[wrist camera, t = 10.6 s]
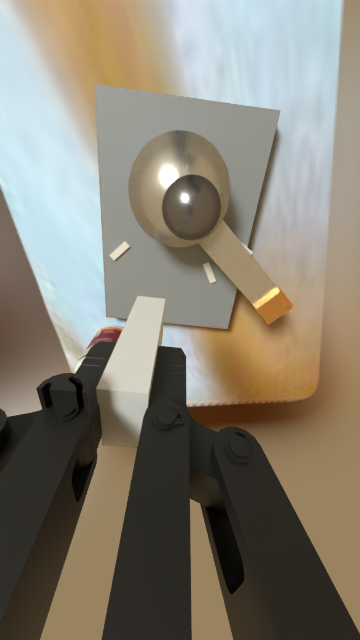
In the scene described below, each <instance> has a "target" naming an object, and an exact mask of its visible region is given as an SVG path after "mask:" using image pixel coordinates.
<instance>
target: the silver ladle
mask: <svg viewBox="0 0 360 640" xmlns="http://www.w3.org/2000/svg"><path fill="white" fill-rule="evenodd" d="M128 191H129V201H130V205H131V209H132V212H133V214H134V216H135V218H136V220H137V222H138V224H139V225H140V227H141V228H142V229H143V230H144V231H145V233H147V234H148V235H149V236H150V237H151V238H153V239H154V240H155V241H157V242H159V243H161V244H164V245H166V246H171V247H188V246H192V245H195V244H199V245H200V246H201V247H202V248H203V249H204V250H205V251H206V253H207V254H208V255H209V256H210V257H211V258H212V259H213V261H214V262H215V263H216V264H217V265H218V266H219V267H220V268H221V270H222V271H223V272H224V273H225V274H226V275H227V276H228V277H229V279H230V280H231V281H232V282H233V283H234V284H235V285H236V287H237V288H238V289H239V290H240V291H241V292H242V293H243V294H244V296H245V297H246V298H247V299H248V300H249V301H250V302H251V304H252V305H253V306H254V309H255V310H256V312H257V313H258V314H259V315H260V316H261V317H262V318H263V319H264V321H265V322H266V323H267V324H268V325H269V324H270V323H272V322H273V321H275V320H276V319H278V318H279V317H280V316H282V315H283V314H285V313H286V312H287V311H289V310H290V309H292V308H293V307H294V306H293V304H292V303H291V302H290V301H289V299H288V298H287V297H286V295H285V294H284V293H283V292H282V290H280V289H279V288H277V287H276V286H275V285H274V283H273V282H272V281H271V280H270V278H269V277H268V276H267V274H266V273H265V272H264V271H263V269H262V268H261V267H260V266H259V264H258V263H257V262H256V261H255V259H254V258H253V257H252V256H251V254H250V253H249V252H248V251H247V249H246V248H245V247H244V246H243V244H242V243H241V242H240V241H239V239H238V238H237V237H236V236H235V234H234V233H233V232H232V231H231V229H230V228H229V227H228V226H227V224H226V223H225V222H224V221H223V218H224V216H225V214H226V211H227V208H228V204H229V199H230V179H229V173H228V170H227V167H226V164H225V162H224V160H223V158H222V156H221V154H220V153H219V151H218V150H217V149H216V148H215V146H214V145H213V144H212V143H210V142H209V141H208V140H207V139H205V138H204V137H202V136H200V135H198V134H196V133H193V132H190V131H183V130H175V131H169V132H165V133H163V134H160V135H158V136H157V137H155V138H153V139H152V140H151V141H149V142H148V143H147V144H146V145H145V146H144V147H143V148H142V149H141V151H140V152H139V154H138V155H137V157H136V159H135V161H134V163H133V166H132V169H131V172H130V177H129V185H128Z"/></svg>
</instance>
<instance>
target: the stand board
mask: <svg viewBox="0 0 360 640" xmlns="http://www.w3.org/2000/svg"><path fill="white" fill-rule="evenodd" d="M95 104H96V123H97V143H98V163H99V183H100V203H101V222H102V242H103V262H104V282H105V302H106V317H111V318H121V319H128V317H129V314H130V312H131V310H132V308H133V305H134V303H135V301H136V299H137V296H145V297H154V298H163V299H165V311H164V323H171V324H181V325H191V326H201V327H211V328H221V329H228V325H229V321H230V317H231V313H232V309H233V304H234V300H235V296H236V292H237V287H236V285H235V284H234V283H233V282H232V281H231V280H230V279H229V277H228V276H227V275H226V274H225V273H224V272H223V271H222V270H221V268H220V267H219V266H218V265H217V264H216V263H215V262H214V261H213V259H212V258H211V257H210V256H209V255H208V254H207V253H206V251H205V250H204V249H203V248H202V247H201V246H200V245H199V244H195V245H192V246H188V247H171V246H166V245H164V244H161V243H159V242H157V241H155V240H154V239H153V238H151V237H150V236H149V235H148V234H147V233H145V231H144V230H143V229H142V228H141V227H140V225H139V224H138V222H137V220H136V218H135V216H134V214H133V212H132V209H131V205H130V201H129V191H128V185H129V177H130V172H131V169H132V166H133V163H134V161H135V159H136V157H137V155H138V154H139V152H140V151H141V149H142V148H143V147H144V146H145V145H146V144H147V143H148V142H149V141H151V140H152V139H153V138H155V137H157V136H158V135H160V134H163V133H165V132H169V131H175V130H183V131H190V132H193V133H196V134H198V135H200V136H202V137H204V138H205V139H207V140H208V141H209V142H210V143H212V144H213V145H214V146H215V148H216V149H217V150H218V151H219V153H220V154H221V156H222V158H223V160H224V162H225V164H226V167H227V170H228V173H229V179H230V199H229V204H228V208H227V211H226V214H225V216H224V218H223V221H224V222H225V223H226V224H227V226H228V227H229V228H230V229H231V231H232V232H233V233H234V234H235V236H236V237H237V238H238V239H239V241H240V242H241V243H242V244H243V246H244V247H245V248H246V249H247V251H248V252H249V253H250V254H252V253H253V252H252V251H251V250H250V249H249V248H247V247H248V242H249V238H250V234H251V230H252V226H253V222H254V218H255V214H256V209H257V205H258V201H259V197H260V193H261V189H262V185H263V181H264V176H265V172H266V168H267V164H268V160H269V156H270V152H271V148H272V143H273V139H274V135H275V131H276V127H277V123H278V119H279V114H280V111H279V110H272V109H265V108H258V107H251V106H244V105H237V104H230V103H223V102H216V101H209V100H202V99H195V98H188V97H182V96H175V95H168V94H161V93H154V92H147V91H140V90H133V89H126V88H119V87H112V86H105V85H98V84H95Z"/></svg>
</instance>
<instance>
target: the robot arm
mask: <svg viewBox="0 0 360 640" xmlns="http://www.w3.org/2000/svg"><path fill="white" fill-rule="evenodd" d="M164 311H165V299H163V298H154V297H145V296H137V299H136V301H135V303H134V305H133V308H132V310H131V312H130V314H129V317H128V319H127V321H126V323H125V325H124V328H123V330H122V332H121V334H120V337H119V339H118V341H117V343H116V342H106V341H99V342H98V343H96V344H95V345H94V346H92V347H91V348H90V349H89V351H88V353H87V354H86V356H85V358H84V359H83V361H82V363H81V365H80V366H79V368H78V369H77V371H76V373H75V374H74V373H66V374H65V373H64V374H59V375H56V376H53V377H51V378H49V379H47V380H45V381H43V382H42V383H41V384H40V385H39V386H38V387H37V392H38V396H39V399H40V402H41V406H42V410H40V411H36V412H32V413H27V414H21V415H16V416H11V417H7V416H6V414H5V412H4V411H3V410H1V409H0V640H40V637H41V634H42V631H43V628H44V625H45V622H46V619H47V615H48V612H49V609H50V606H51V603H52V600H53V597H54V594H55V591H56V587H57V584H58V581H59V578H60V575H61V572H62V569H63V566H64V563H65V560H66V556H67V553H68V550H69V547H70V544H71V541H72V538H73V535H74V532H75V528H76V525H77V522H78V519H79V516H80V513H81V510H82V507H83V504H84V500H85V497H86V494H87V491H88V488H89V485H90V481H91V479H92V476H93V472H94V469H95V466H96V463H97V448H98V444H99V442H100V439H102V445H109V446H121V447H133V448H137V453H136V459H135V464H134V469H133V475H132V480H131V485H130V491H129V496H128V501H127V507H126V512H125V517H124V523H123V528H122V533H121V539H120V544H119V549H118V555H117V560H116V566H115V571H114V576H113V582H112V587H111V592H110V598H109V603H108V608H107V614H106V619H105V624H104V630H103V635H102V640H192V635H191V634H192V633H191V560H190V559H191V558H190V499H192V500H194V501H196V502H198V503H200V505H201V509H202V513H203V517H204V521H205V525H206V529H207V533H208V538H209V542H210V546H211V550H212V554H213V558H214V562H215V566H216V570H217V574H218V579H219V582H220V587H221V591H222V595H223V599H224V603H225V607H226V611H227V615H228V619H229V623H230V628H231V632H232V636H233V640H360V634H359V632H358V630H357V628H356V626H355V624H354V622H353V620H352V618H351V616H350V615H349V613H348V611H347V609H346V607H345V605H344V603H343V601H342V599H341V598H340V596H339V594H338V592H337V590H336V588H335V586H334V584H333V582H332V581H331V579H330V577H329V575H328V573H327V571H326V569H325V567H324V565H323V563H322V561H321V560H320V558H319V556H318V554H317V552H316V550H315V548H314V546H313V544H312V543H311V541H310V539H309V537H308V535H307V533H306V531H305V529H304V527H303V525H302V524H301V522H300V520H299V518H298V516H297V514H296V512H295V510H294V509H293V507H292V505H291V503H290V501H289V499H288V497H287V495H286V493H285V491H284V489H283V488H282V486H281V484H280V482H279V480H278V478H277V476H276V474H275V472H274V471H273V469H272V467H271V465H270V463H269V461H268V459H267V457H266V455H265V454H264V452H263V450H262V448H261V446H260V444H259V443H258V442H257V440H256V439H255V438H254V437H253V436H252V435H251V434H250V433H248V432H247V431H245V430H243V429H240V428H238V427H226V428H224V429H221V430H220V431H219V432H216V431H214V430H212V429H209V428H206V427H204V426H202V425H201V424H198V423H197V422H196V421H195V420H194V419H193V418H192V417H191V415H190V414H189V412H188V410H187V405H186V355H185V354H184V352H183V350H182V349H181V348H175V347H165V346H161V344H162V335H163V323H164Z"/></svg>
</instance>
